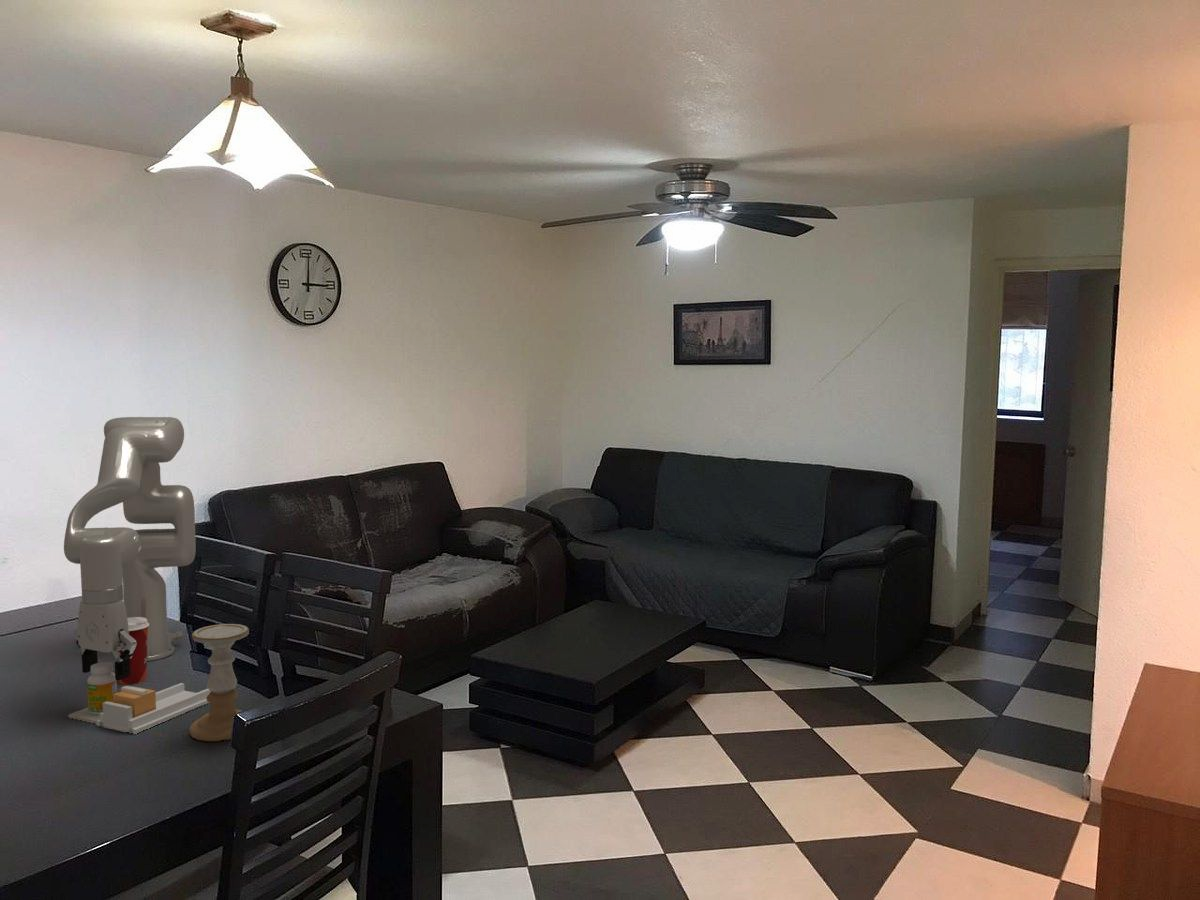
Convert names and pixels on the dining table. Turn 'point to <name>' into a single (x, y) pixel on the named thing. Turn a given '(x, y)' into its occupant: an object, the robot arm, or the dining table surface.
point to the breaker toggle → (136, 699)
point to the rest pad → (84, 716)
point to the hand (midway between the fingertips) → (106, 674)
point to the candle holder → (219, 681)
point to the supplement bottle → (100, 687)
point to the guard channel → (167, 707)
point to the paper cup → (137, 650)
